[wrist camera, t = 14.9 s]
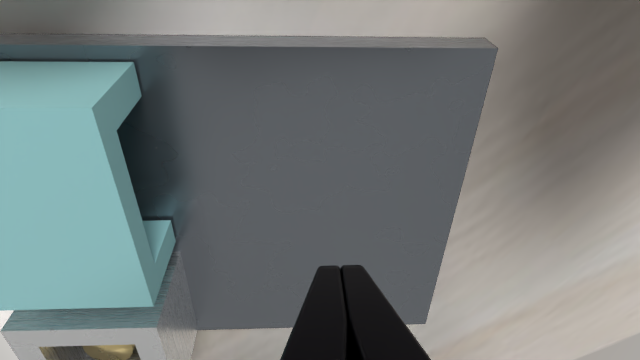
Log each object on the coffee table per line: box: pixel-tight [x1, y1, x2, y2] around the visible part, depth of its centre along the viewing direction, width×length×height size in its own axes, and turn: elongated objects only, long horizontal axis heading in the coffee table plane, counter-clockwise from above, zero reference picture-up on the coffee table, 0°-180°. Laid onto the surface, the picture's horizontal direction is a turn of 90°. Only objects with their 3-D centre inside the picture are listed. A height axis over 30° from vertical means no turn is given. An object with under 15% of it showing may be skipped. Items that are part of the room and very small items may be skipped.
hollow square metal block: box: [0, 251, 198, 360], centre depth 19 cm, size 6×6×4 cm
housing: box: [0, 61, 176, 310], centre depth 15 cm, size 7×8×4 cm
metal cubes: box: [0, 34, 498, 360], centre depth 17 cm, size 20×15×4 cm
